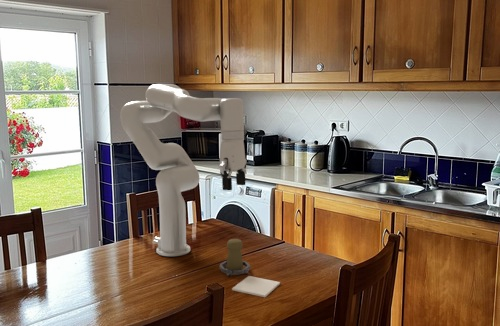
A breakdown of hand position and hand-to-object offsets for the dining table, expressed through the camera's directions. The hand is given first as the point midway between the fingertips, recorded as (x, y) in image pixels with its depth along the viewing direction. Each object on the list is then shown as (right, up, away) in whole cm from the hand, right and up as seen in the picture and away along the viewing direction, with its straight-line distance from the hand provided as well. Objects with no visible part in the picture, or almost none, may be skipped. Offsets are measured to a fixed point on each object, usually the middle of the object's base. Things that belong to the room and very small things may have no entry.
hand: (234, 187), depth 159 cm
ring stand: (0, -28, 0) cm, 28 cm away
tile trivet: (+7, -30, -12) cm, 33 cm away
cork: (0, -28, 0) cm, 28 cm away
